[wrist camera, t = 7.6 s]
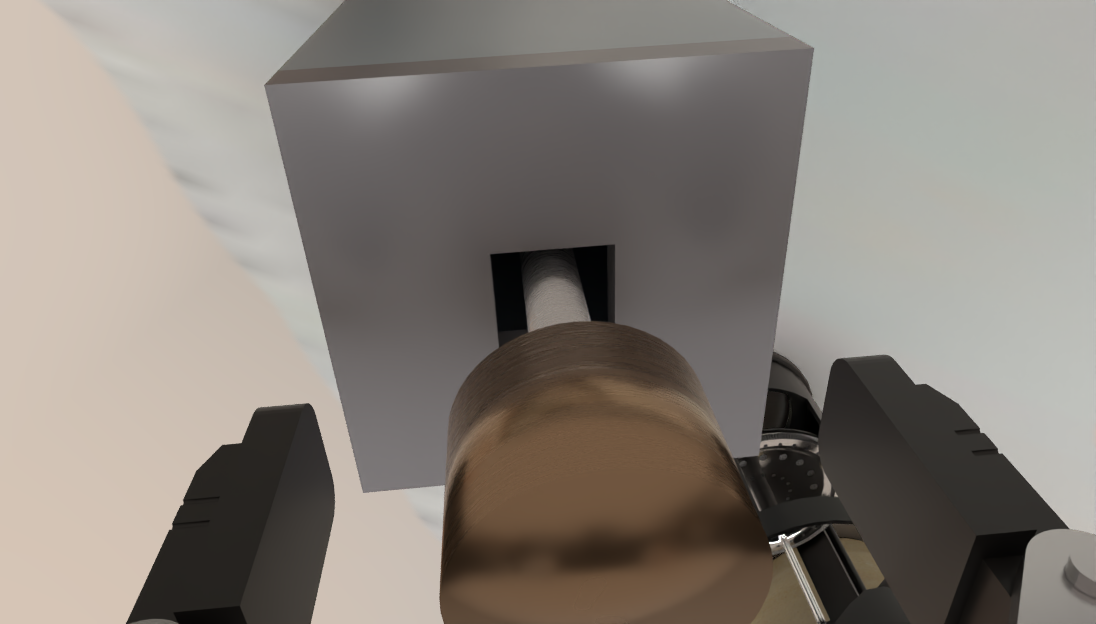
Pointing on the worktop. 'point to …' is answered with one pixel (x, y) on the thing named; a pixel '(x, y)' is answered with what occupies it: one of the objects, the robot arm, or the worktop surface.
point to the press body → (537, 194)
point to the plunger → (592, 479)
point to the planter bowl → (786, 608)
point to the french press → (809, 510)
